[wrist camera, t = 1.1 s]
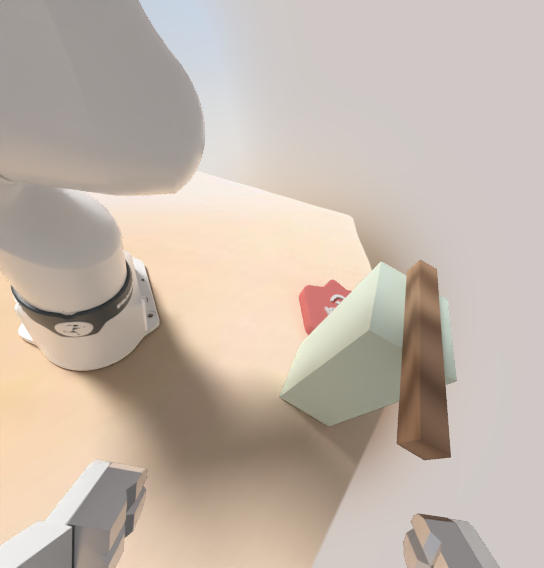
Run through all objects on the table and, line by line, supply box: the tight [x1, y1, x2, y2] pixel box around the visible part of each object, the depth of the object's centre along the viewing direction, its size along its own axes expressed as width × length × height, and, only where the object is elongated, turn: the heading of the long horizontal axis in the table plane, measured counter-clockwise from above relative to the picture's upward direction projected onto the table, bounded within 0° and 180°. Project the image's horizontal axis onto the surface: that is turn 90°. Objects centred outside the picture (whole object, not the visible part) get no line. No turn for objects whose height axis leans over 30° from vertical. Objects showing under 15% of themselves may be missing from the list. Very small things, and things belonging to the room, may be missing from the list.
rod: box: [397, 260, 451, 460], centre depth 26 cm, size 22×2×2 cm, turn 155°
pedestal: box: [280, 262, 457, 427], centre depth 39 cm, size 12×10×26 cm
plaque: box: [299, 280, 352, 335], centre depth 61 cm, size 18×4×15 cm
